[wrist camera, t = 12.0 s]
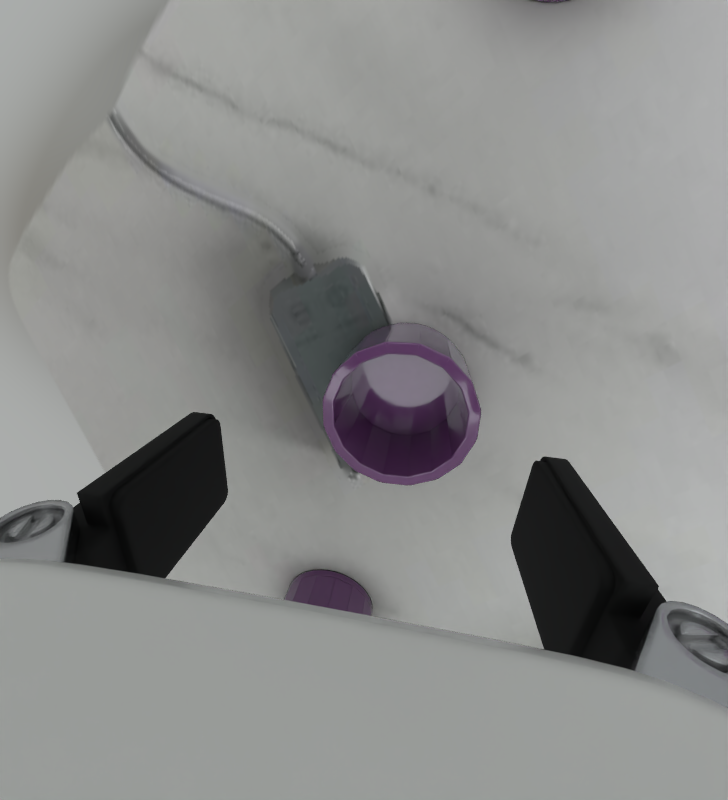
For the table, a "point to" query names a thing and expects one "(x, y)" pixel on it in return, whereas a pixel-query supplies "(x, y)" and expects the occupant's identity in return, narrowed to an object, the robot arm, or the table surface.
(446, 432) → the dish middle
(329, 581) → the dish far
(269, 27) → the table surface
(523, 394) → the table surface
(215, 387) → the table surface
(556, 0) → the dish near
